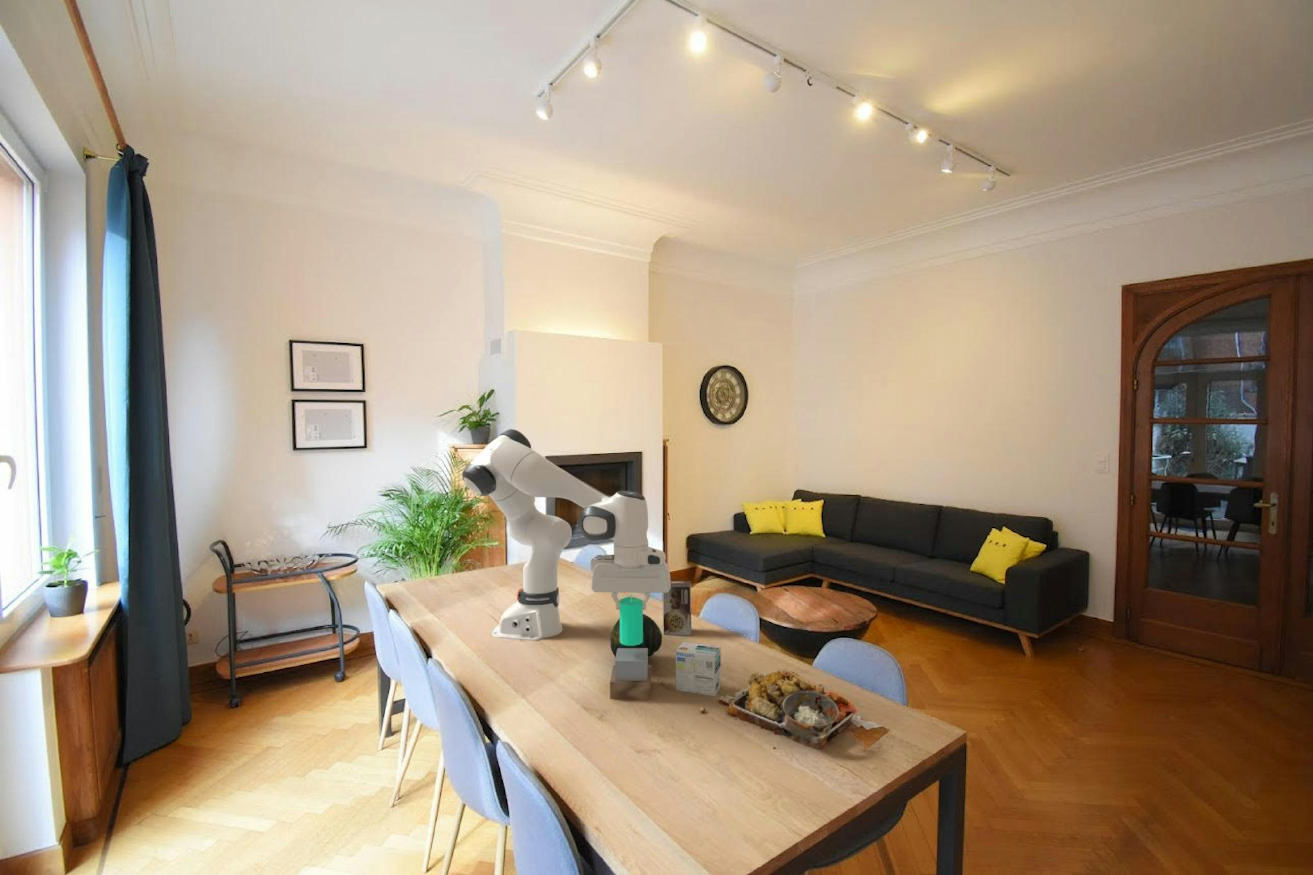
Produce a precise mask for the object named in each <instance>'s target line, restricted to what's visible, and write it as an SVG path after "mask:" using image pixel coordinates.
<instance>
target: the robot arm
mask: <svg viewBox="0 0 1313 875" xmlns="http://www.w3.org/2000/svg"><path fill="white" fill-rule="evenodd" d="M461 474H462V475H461V477H462V481H463V482H464V484H465V486H466V487H467V488H468V490H470V491H471V492H473V493H474V494H476V495H477V496H479V497H487V496H489V498H491V501H493V503H494V504H495V505H496V506H497V508H498V509H499V510H500V511H501V512H502V514H503V515H504V517H505V518H506V520H507V523H508V533H509V536H510V537H511V538H512V539H514V540H515V541H516V542H518V543H520V544H521V545H525V546H529V547H531V554H530V558H529V559H528V560H527V561H526V562H525V564H524V565H523V568H522V583H523V584H522V586H520V588H519V589H518V591H517V594H516V601H515V602H514V603H513V604H511V605H510V606H509V607H508V608H507V609H506V610H505V611H504V612H503V613H502V614H501V617H500V619H499V620H500V621H499V624H498V625H496V627H495V628H493V630H492V632H491V633H492V637H493V638H495V639H497V638H498V639H508V640H517V641H518V640H520V641H527V642H528V641H529V642H530V641H532V642H538V641H541V640H542V639H547V638H551V637H555V636H557V635H559V634H561V633H562V632H563V631H564V630H563V629H564V628H563V626H562V625H563V624H562V621H561V616H560V610H559V605H560V591H559V590H560V589H559V587H558V568H559V567H558V566H559V561H560V557H561V555H562V552H563V550H565V548H566V547H567V546H569V543H570V541H571V540H572V533H573V531H572V527H571V525H570V523H569V522H568V521H566V520H565V519H562V518H561V517H559V516H555V515H552V514H551V515H550V514H544V513H542V512H540V511H539V510H538V509H537V507H536V505H535V503H536V502H535V501H536V498H559V499H565V500H568V501H570V502H573V503H574V504H576V505H578V506H579V507H581V508H583V509H581V511H580V513H579V516H578V520H577V524H578V528H579V531H580V533H581V534H582V536H583V537H584V538H585V539H586V540H588V541H592V542H601V541H606V540H611V541H613V554H606V555H604V554H603V555H601V554H597V555H596V556H593V557H591V560H590V562H589V564H590V565H589V566H590V571H591V572H592V574H591V575H592V576H591V586H590V588H591V590H592V592H594V593H611V597H612V599H613V601H614V603H615V608H616V610H620V599H619V598H618V595H619V593H634V594H635V593H640V594H641V593H644V599H643V603H642V609H643V611H646V610H647V603H648V601H649V600H650V598H651V593H652V594H654V593H658V594H659V593H661V594H663V593H667V592H669V590H670V589H671V582H670V581H671V574H670V568H669V565H668V563H667V562H666V559H667V558H666V553H665V551H662V550H660V549H657V548H654V547H651V546H649V540H648V529H649V511H648V504H647V499H646V498H645V496H644V495H642V493H639V492H637V491H633V490H620V491H619V490H618V491H616V492H615V494H613V495H609V494H606V493H604V492H603V491H601V490H598V489H597V488H595V487H594V486H592V485H591V484H589V483H587V482H585V481H583V480H582V479H580V478H579V477H576V476H574V475H572V474H571V473H569V472H568V471H566V470H564V469H562V468H560V466H557V465H556V464H554V463H553V462H552V461H550V460H548V459H547V458H545V457H544V456H543V455H541V454H540V453H539V452H537V451H536V450H534V449H532V444H531V442H530V441H529V438H527V437H526V435H524V434H523V433H522V432H520V431H519V430H517V429H511V428H510V429H509V428H508V429H507V430H505V431H503V432H502V433H500V435H499V436H498V437H497V438H495V439H493V440H492V441H491V442H489V443H487V445H486V446H485V447H484V448H483V449H482V450H481V451H480V452H479V453H478V454H477V455H476V457H475V458H474V459H473V460H472V461H471V462H470V463H468V464H467V465H466V466H465V467H464V469H463V471H462V473H461Z"/></svg>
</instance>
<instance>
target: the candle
mask: <svg viewBox="0 0 1313 875" xmlns="http://www.w3.org/2000/svg"><path fill="white" fill-rule="evenodd" d="M619 601H620V609H619V619H620V643H621V644H623V645H627V646H635V645H639V644H641V643H643V614H644V612H643V611H644V610H643V609H642V603H643V601H644V599H641V598H637V597H633V596H632V594H630V596H626V597H623V598H620V599H619Z"/></svg>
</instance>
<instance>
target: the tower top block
mask: <svg viewBox="0 0 1313 875" xmlns="http://www.w3.org/2000/svg"><path fill="white" fill-rule="evenodd" d="M614 658H615V657H614ZM614 665H615V681H647V677H648V665H649V657H648V648H617V653H616V658H615V659H614Z"/></svg>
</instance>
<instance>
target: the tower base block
mask: <svg viewBox="0 0 1313 875" xmlns="http://www.w3.org/2000/svg"><path fill="white" fill-rule="evenodd" d="M651 693H652V665H651V664H648V677H647V681H615V664H614V665H613V667H612V671H611V676H610V681H609V699H610V700H651V695H652V694H651Z"/></svg>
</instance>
